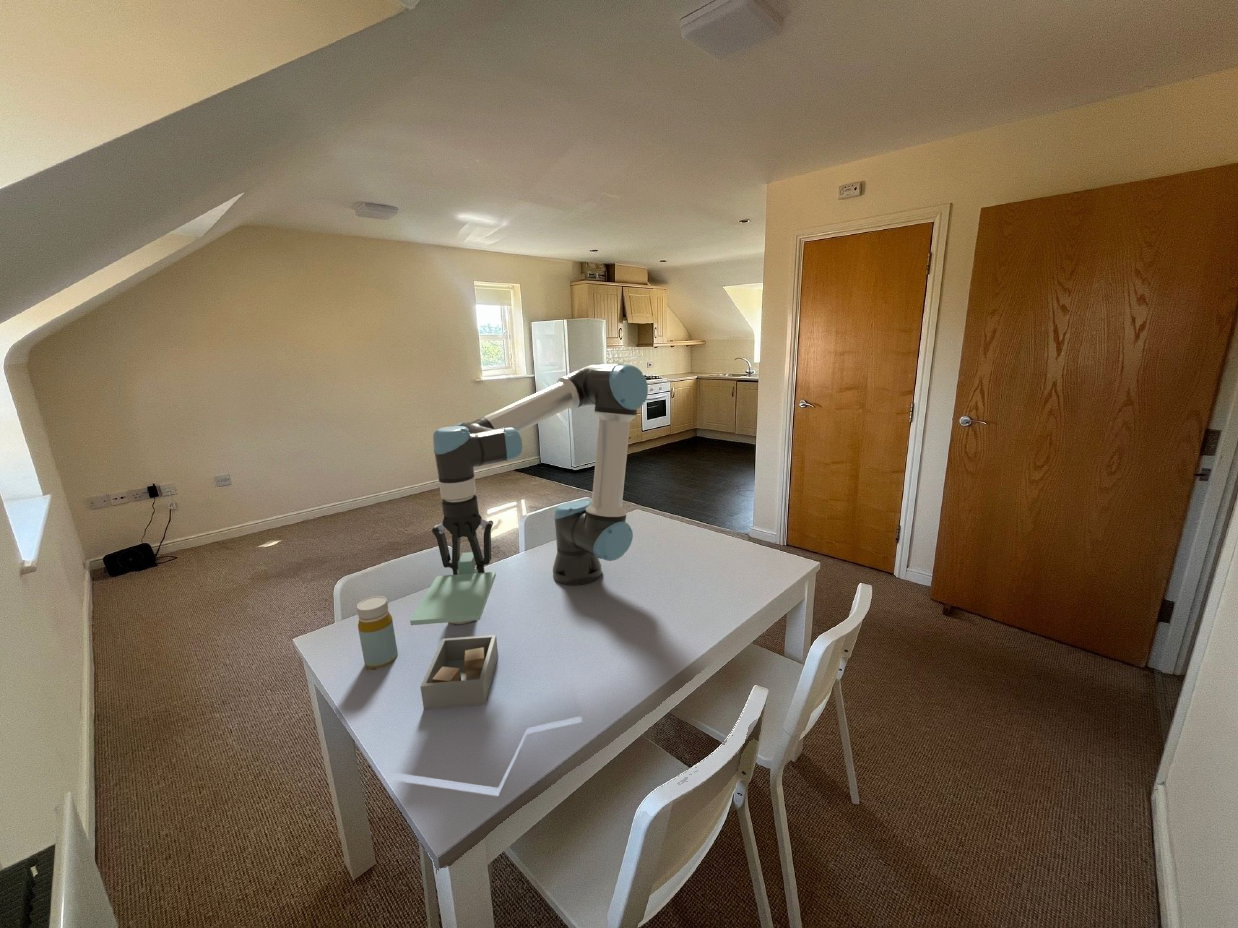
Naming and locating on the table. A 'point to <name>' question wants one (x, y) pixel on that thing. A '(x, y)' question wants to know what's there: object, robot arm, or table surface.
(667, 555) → the table surface
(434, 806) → the table surface
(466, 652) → the block
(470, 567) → the lid
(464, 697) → the tub
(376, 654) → the bottle
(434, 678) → the block
